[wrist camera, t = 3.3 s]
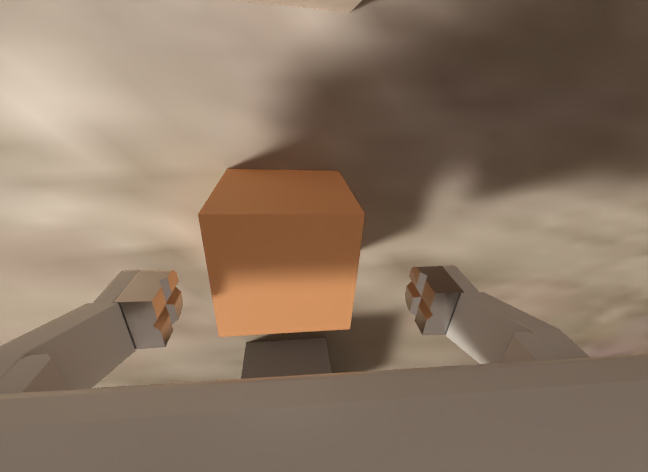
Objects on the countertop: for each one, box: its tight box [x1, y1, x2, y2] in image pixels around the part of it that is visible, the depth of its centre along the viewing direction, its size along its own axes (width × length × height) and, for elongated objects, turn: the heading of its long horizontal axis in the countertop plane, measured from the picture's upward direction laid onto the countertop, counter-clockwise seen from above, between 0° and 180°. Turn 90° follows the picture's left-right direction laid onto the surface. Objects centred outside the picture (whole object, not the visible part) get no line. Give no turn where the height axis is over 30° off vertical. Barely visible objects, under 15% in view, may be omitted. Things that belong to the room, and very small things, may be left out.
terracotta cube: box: [198, 169, 365, 337], centre depth 12 cm, size 5×5×5 cm
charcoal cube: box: [241, 338, 332, 379], centre depth 17 cm, size 5×5×5 cm
